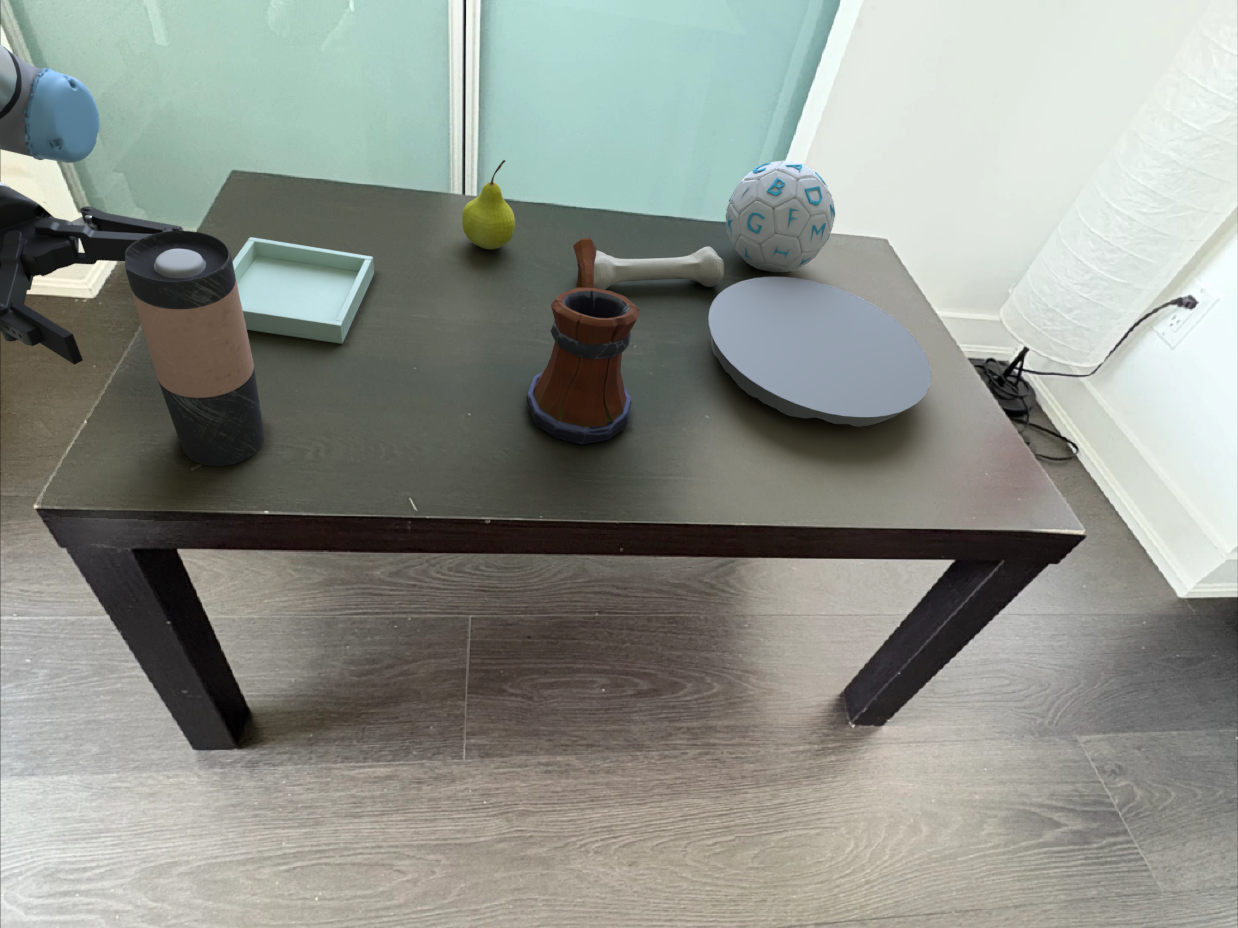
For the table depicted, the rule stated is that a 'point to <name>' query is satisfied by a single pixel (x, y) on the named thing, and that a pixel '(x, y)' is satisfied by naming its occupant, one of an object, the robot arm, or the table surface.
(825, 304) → the flat disc
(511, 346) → the table surface
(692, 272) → the dog toy
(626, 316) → the mug
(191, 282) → the travel mug
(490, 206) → the fruit
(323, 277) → the tray
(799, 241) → the puzzle ball
